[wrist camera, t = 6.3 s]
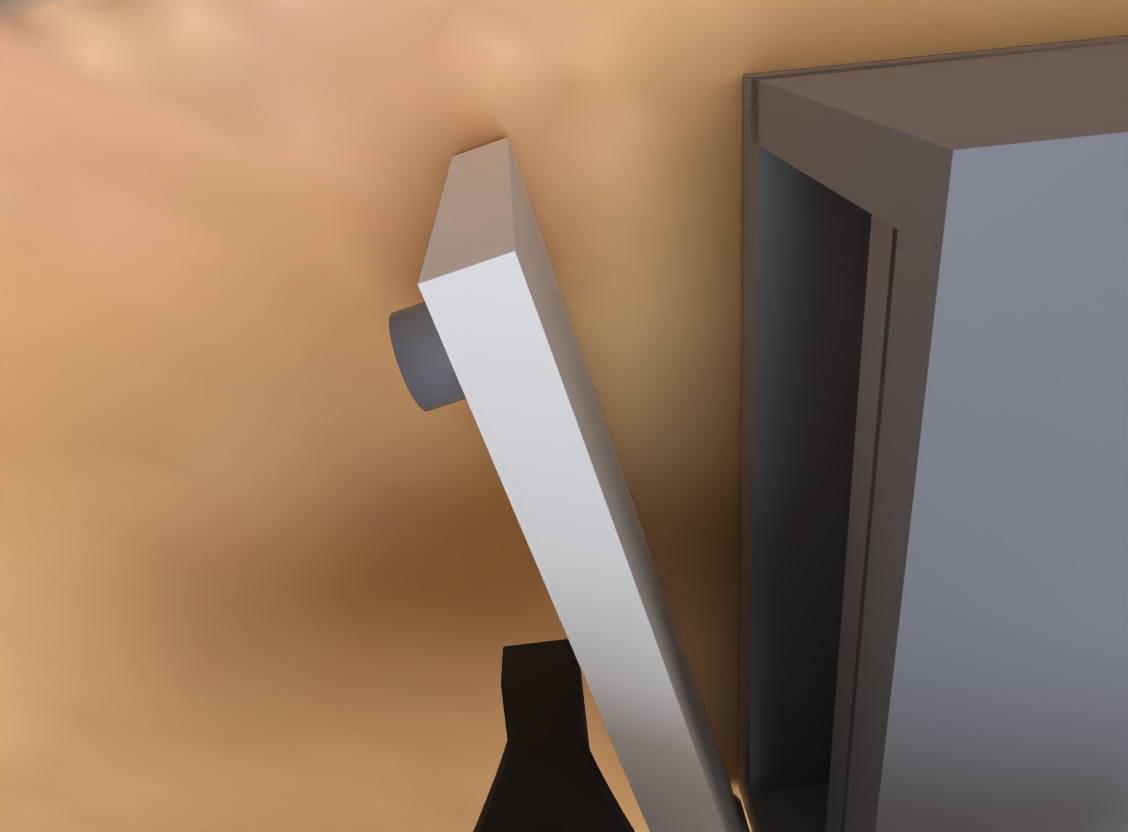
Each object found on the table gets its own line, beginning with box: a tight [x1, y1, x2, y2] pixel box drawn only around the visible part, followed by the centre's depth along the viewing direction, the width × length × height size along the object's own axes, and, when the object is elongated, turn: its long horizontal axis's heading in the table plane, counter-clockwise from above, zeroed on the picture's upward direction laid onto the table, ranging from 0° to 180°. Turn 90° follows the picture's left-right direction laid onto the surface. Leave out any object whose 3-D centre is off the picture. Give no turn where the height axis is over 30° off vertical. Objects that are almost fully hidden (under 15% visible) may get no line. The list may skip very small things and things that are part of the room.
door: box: [389, 137, 750, 832], centre depth 12 cm, size 2×14×6 cm, turn 18°
